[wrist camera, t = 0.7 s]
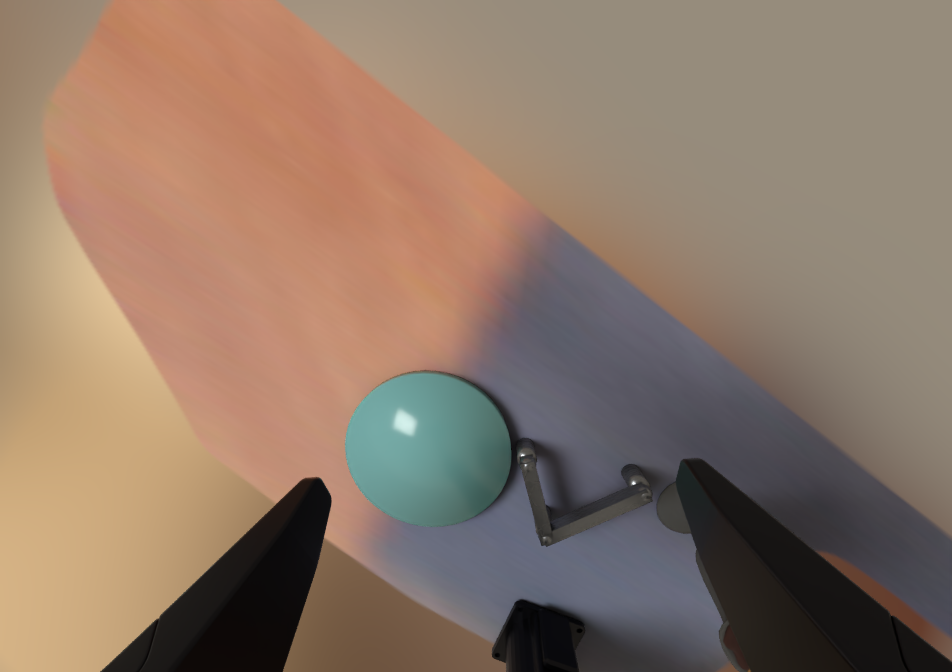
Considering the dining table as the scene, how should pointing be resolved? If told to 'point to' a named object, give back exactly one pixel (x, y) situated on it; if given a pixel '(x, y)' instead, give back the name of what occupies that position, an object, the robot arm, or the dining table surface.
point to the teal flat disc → (428, 448)
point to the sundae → (676, 521)
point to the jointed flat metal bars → (587, 515)
